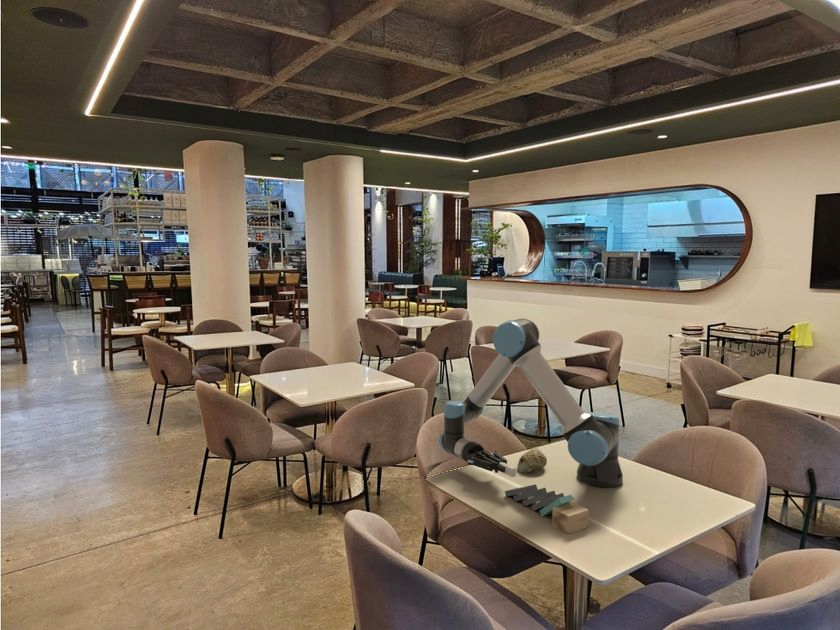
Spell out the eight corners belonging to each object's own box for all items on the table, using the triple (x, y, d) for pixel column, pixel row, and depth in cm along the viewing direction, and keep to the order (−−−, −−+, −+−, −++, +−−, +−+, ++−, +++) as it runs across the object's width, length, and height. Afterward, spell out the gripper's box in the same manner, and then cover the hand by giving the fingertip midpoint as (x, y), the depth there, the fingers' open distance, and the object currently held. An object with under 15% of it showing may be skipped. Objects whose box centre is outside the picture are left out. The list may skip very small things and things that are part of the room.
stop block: (552, 525, 152) (552, 508, 151) (572, 518, 156) (572, 501, 156) (568, 533, 147) (568, 516, 146) (588, 526, 151) (588, 509, 150)
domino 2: (513, 496, 168) (533, 491, 160) (525, 492, 170) (545, 487, 163) (514, 501, 167) (534, 496, 160) (526, 497, 170) (547, 492, 162)
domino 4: (530, 505, 161) (550, 496, 154) (542, 502, 164) (562, 492, 156) (532, 511, 161) (552, 502, 153) (545, 507, 163) (565, 498, 156)
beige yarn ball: (514, 470, 191) (516, 442, 195) (520, 474, 199) (522, 447, 203) (543, 473, 187) (544, 444, 191) (547, 477, 195) (549, 449, 199)
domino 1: (504, 491, 172) (524, 487, 163) (516, 488, 174) (536, 484, 166) (506, 496, 171) (525, 493, 163) (517, 493, 174) (537, 489, 166)
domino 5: (539, 510, 158) (558, 498, 151) (551, 506, 161) (571, 494, 154) (542, 516, 157) (561, 503, 150) (554, 512, 160) (573, 499, 153)
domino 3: (522, 500, 165) (541, 494, 157) (534, 497, 167) (554, 490, 159) (523, 506, 164) (543, 499, 156) (535, 502, 167) (556, 495, 159)
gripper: (483, 458, 195) (528, 480, 175) (454, 465, 188) (497, 488, 168) (484, 438, 194) (529, 457, 174) (454, 444, 187) (498, 465, 167)
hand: (513, 472), depth 171 cm, fingers closed
